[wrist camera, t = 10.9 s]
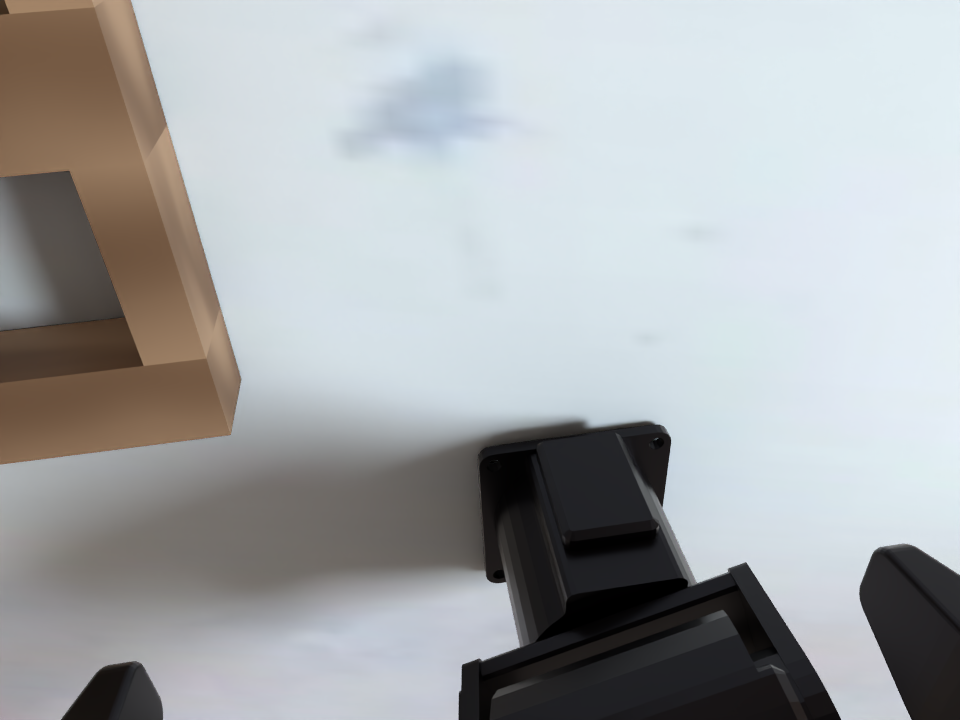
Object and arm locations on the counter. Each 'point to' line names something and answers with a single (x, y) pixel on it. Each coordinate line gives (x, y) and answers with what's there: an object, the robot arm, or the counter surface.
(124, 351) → the rack
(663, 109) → the counter surface
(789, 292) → the counter surface
